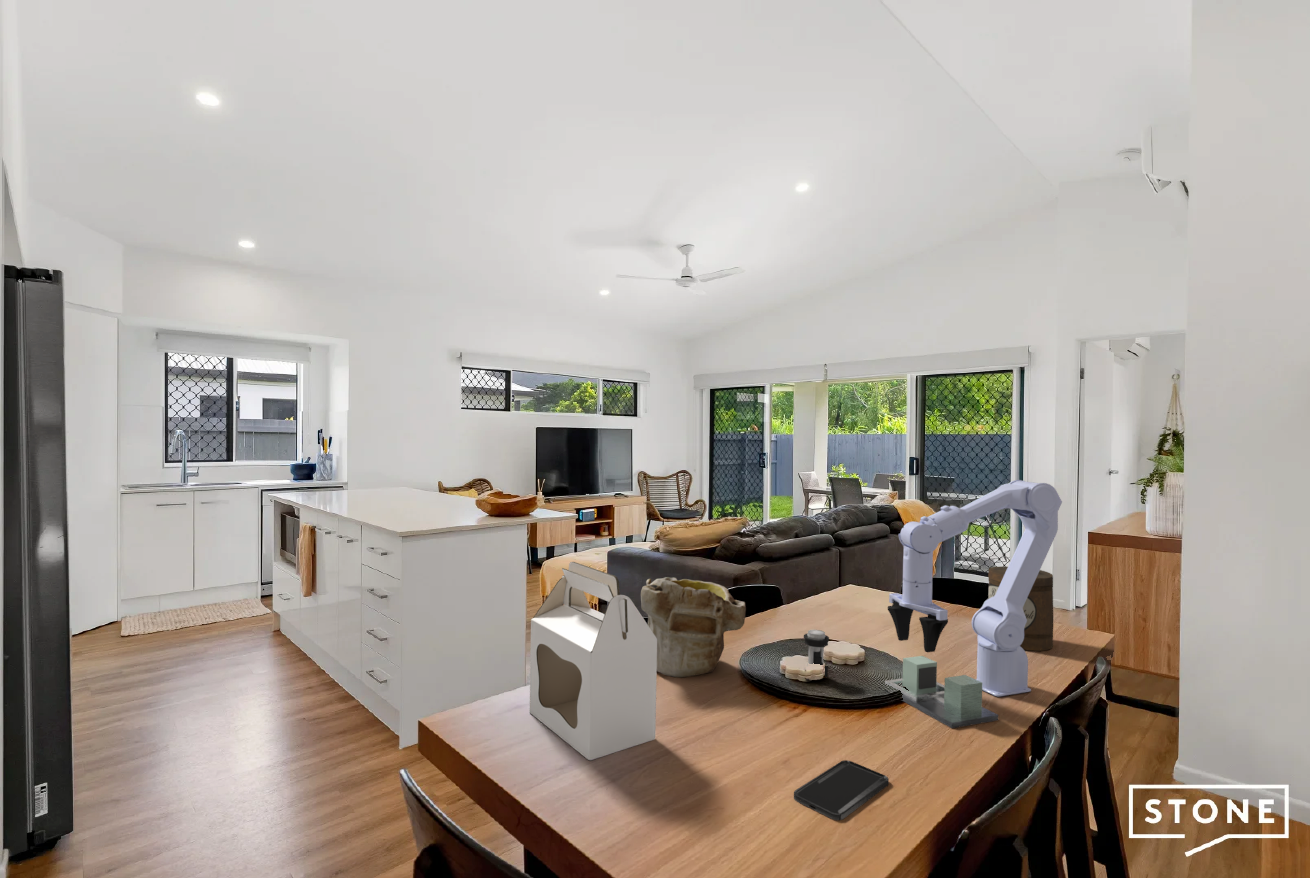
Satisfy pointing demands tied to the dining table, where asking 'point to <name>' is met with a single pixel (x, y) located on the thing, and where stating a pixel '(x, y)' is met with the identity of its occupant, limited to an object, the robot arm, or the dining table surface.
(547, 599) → the gable box
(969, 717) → the rail
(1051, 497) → the robot arm
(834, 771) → the phone
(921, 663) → the block
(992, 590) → the wooden container
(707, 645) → the ceramic vessel
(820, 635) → the push button
